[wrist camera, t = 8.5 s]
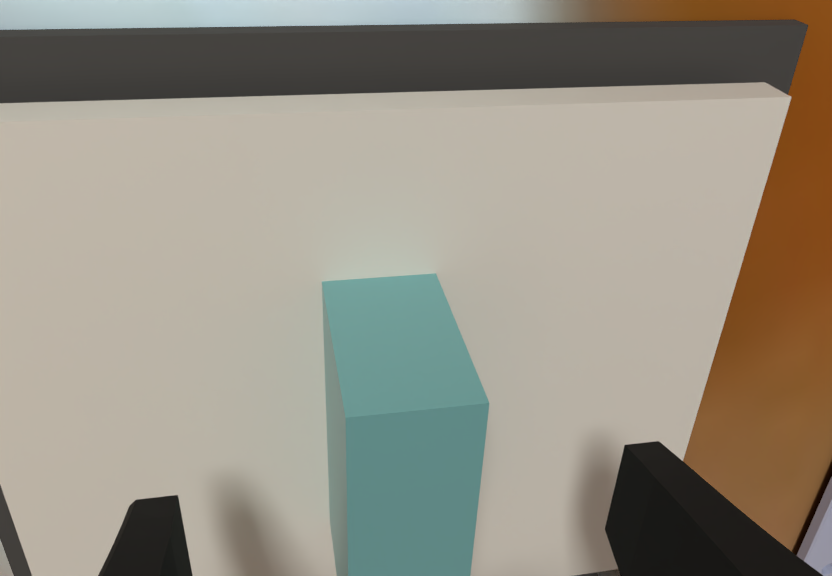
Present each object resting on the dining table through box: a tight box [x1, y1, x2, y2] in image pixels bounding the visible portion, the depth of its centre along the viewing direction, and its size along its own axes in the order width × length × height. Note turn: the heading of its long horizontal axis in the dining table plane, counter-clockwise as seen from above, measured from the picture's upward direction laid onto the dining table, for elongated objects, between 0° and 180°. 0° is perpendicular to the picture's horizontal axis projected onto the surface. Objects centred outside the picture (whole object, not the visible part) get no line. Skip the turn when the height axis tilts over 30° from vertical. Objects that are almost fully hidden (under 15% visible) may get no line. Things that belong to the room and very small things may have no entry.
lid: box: [0, 82, 791, 576], centre depth 14 cm, size 14×12×5 cm
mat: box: [0, 20, 808, 576], centre depth 16 cm, size 16×13×1 cm
